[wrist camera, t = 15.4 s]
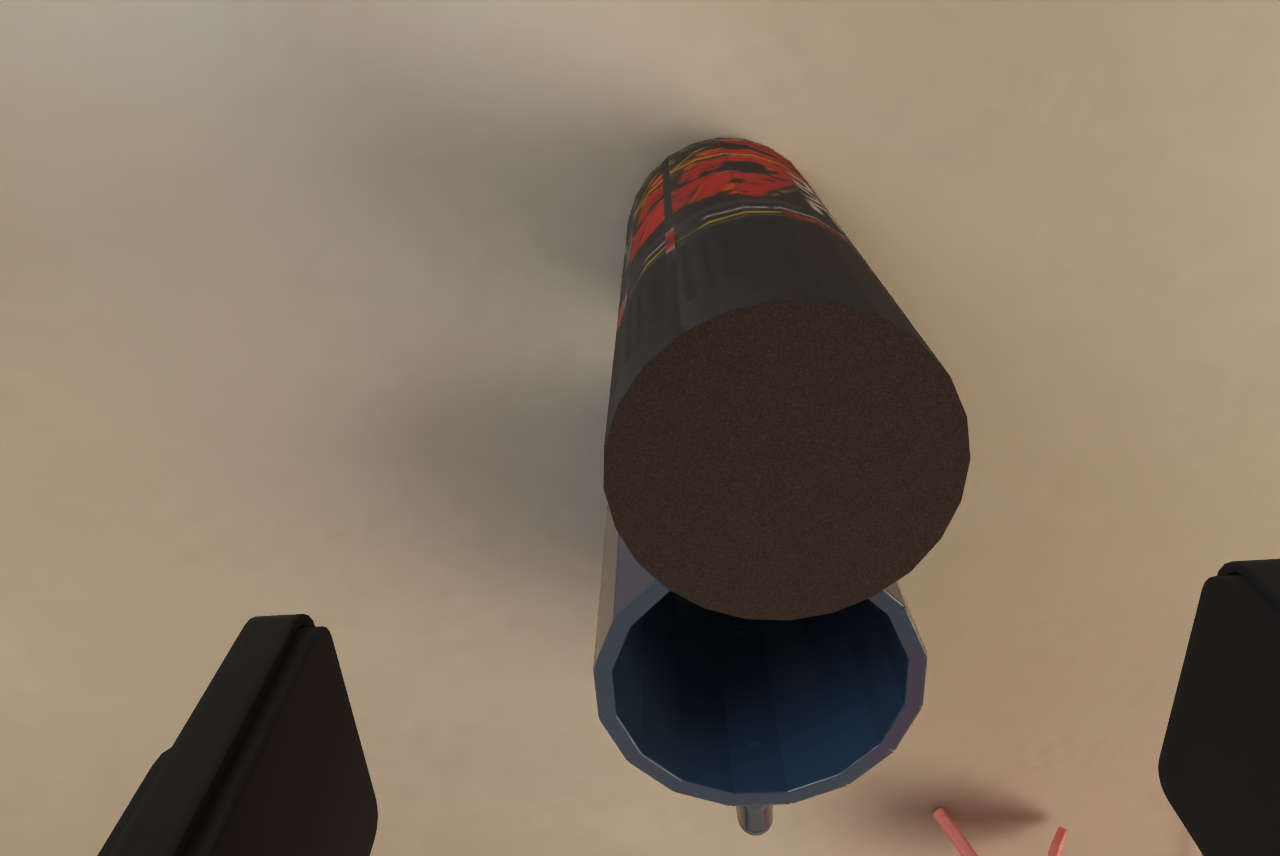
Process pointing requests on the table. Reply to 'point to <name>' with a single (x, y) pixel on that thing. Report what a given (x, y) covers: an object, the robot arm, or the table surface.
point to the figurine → (967, 851)
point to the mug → (750, 690)
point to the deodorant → (769, 398)
